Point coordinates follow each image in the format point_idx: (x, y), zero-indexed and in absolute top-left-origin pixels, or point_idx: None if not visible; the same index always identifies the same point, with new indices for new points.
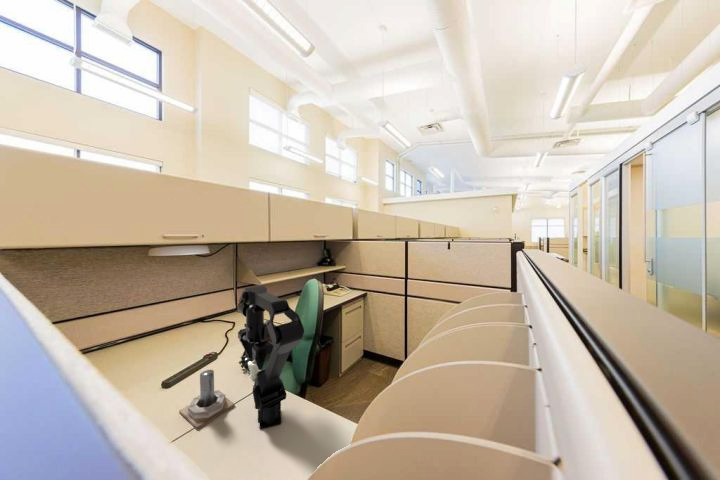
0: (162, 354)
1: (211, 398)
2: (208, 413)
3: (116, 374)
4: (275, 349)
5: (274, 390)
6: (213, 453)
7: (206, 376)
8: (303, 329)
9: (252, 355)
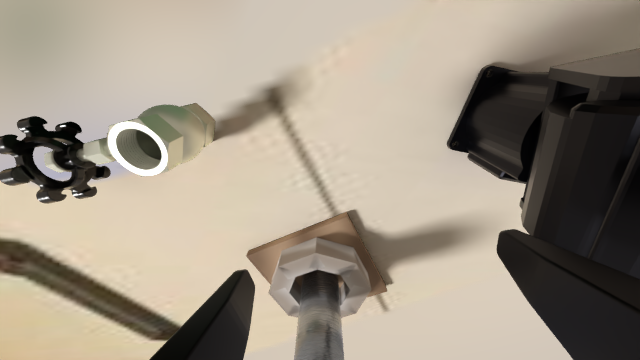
0: (6, 349)
1: (337, 297)
2: (369, 283)
3: None
4: None
5: None
6: (489, 261)
7: None
8: None
9: (238, 286)
